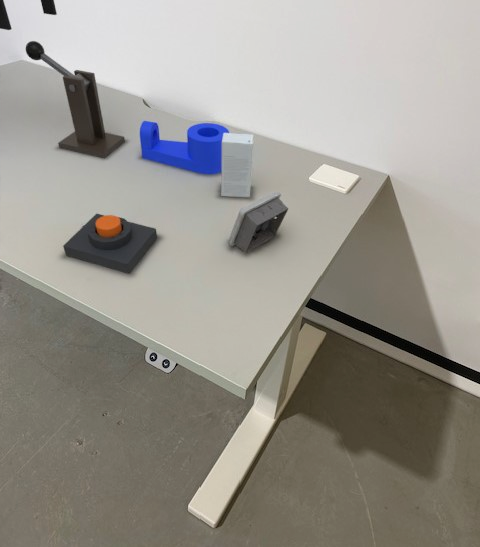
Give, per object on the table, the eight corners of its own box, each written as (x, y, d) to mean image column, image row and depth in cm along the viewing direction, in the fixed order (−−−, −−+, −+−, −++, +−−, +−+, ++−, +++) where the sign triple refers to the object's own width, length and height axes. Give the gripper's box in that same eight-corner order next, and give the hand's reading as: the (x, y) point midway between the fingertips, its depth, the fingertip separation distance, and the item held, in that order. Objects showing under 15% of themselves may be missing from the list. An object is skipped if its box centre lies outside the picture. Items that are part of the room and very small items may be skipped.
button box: (65, 255, 71) (60, 237, 68) (98, 223, 78) (94, 204, 75) (129, 273, 68) (126, 255, 66) (157, 238, 75) (155, 220, 73)
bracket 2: (232, 158, 98) (233, 126, 93) (221, 177, 92) (222, 144, 86) (154, 144, 101) (151, 113, 96) (138, 162, 95) (134, 129, 89)
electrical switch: (263, 225, 80) (271, 184, 73) (282, 240, 78) (293, 200, 71) (227, 245, 75) (232, 204, 68) (246, 262, 73) (254, 221, 66)
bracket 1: (59, 147, 97) (40, 76, 87) (81, 132, 104) (67, 64, 93) (104, 158, 95) (91, 86, 84) (125, 141, 101) (114, 72, 91)
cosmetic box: (250, 187, 89) (254, 133, 81) (249, 198, 86) (254, 143, 78) (221, 185, 89) (223, 131, 81) (220, 196, 86) (221, 141, 78)
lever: (20, 55, 88) (22, 39, 85) (32, 50, 90) (34, 35, 88) (79, 97, 90) (83, 83, 87) (88, 91, 93) (92, 78, 90)
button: (92, 234, 70) (90, 226, 68) (105, 221, 72) (103, 212, 71) (113, 240, 69) (112, 231, 68) (126, 226, 72) (124, 218, 70)
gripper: (-52, -126, 60) (-1, 38, 75) (57, -122, 77) (81, 10, 92) (-93, -129, 62) (-35, 33, 76) (23, -125, 79) (52, 6, 94)
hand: (28, 21), depth 84 cm, fingers open, 13 cm apart
